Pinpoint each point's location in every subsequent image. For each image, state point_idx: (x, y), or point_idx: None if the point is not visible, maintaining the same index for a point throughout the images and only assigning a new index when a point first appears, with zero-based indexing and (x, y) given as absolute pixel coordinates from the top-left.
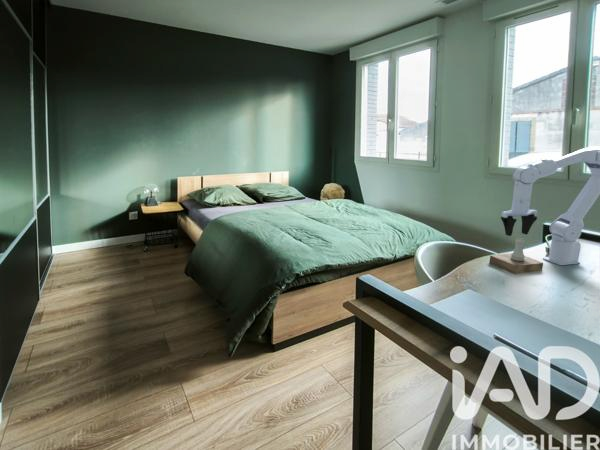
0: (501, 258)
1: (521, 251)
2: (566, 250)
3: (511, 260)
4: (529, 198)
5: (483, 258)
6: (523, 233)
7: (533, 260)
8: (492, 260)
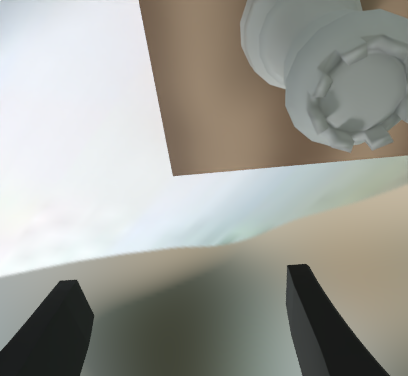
0: None
1: (322, 1)
2: None
3: (370, 9)
4: None
5: (344, 201)
6: (87, 304)
7: None
8: None
